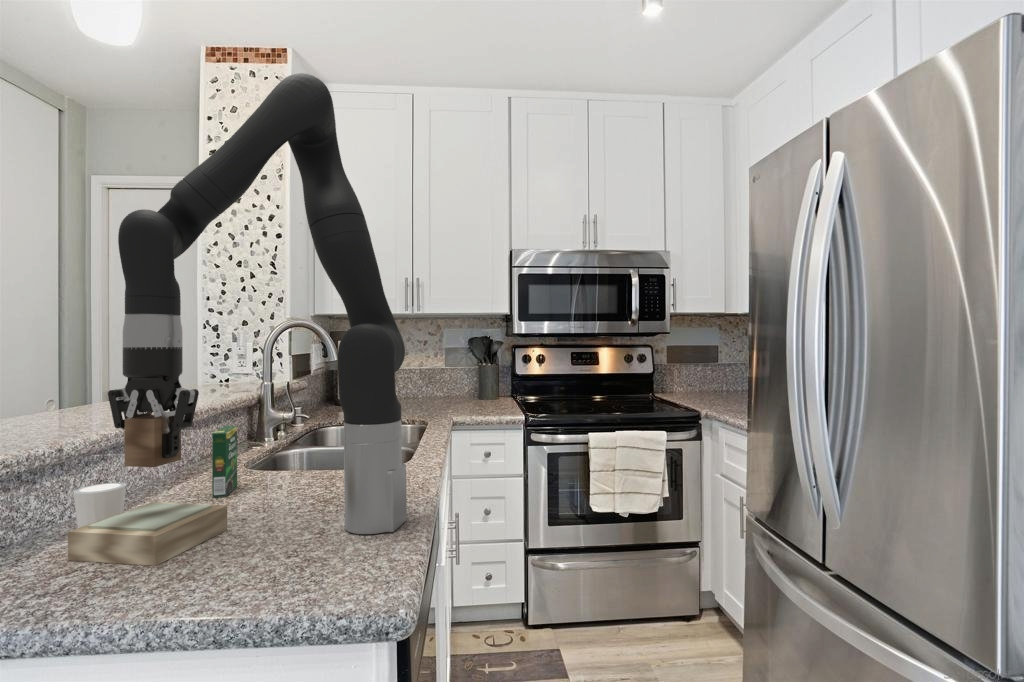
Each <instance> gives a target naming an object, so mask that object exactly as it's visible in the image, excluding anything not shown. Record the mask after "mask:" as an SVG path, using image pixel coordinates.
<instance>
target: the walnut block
mask: <svg viewBox="0 0 1024 682" xmlns="http://www.w3.org/2000/svg"><path fill="white" fill-rule="evenodd" d="M124 419H125V418H124ZM168 419H169V422H170V424H172V417H168ZM162 434H164V433H163V431H162V428H161V419H156V418H155V416H154V414H152V415H150V416H144V417H137V418H128V419H125V430H124V467H134V468H136V467H137V468H157V467H160V466H164V465H168V464H171V463H176V462H179V461H182V430H181V431H180V433H179V452H178V453H177V456H175V457H172V458H168V459H167V458H163V457H162Z"/></svg>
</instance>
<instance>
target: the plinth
mask: <svg viewBox="0 0 1024 682" xmlns="http://www.w3.org/2000/svg"><path fill="white" fill-rule="evenodd" d="M226 531H228V505H227V504H209V503H207V504H206V503H205V504H204V503H184V502H183V503H180V502H163V501H162V502H160V501H152V502H149V503H145V504H143V505H140V506H137V507H133V508H132V509H128V510H126V511H123V512H122V513H120V514H117V515H114V516H111V517H108V518H105V519H103V520H100V521H97V522H94V523H91V524H88V525H86V526H83V527H80V528H78V527H77V528H75V529H71V530H69V531H67V561H74V562H75V561H76V562H89V563H90V562H91V563H106V564H108V563H109V564H118V565H119V564H121V565H122V564H123V565H138V566H152V567H153V566H154V567H155V566H158V565H160V564H162V563H164V562H166V561H168V560H170V559H172V558H174V557H175V556H176V557H177V556H178V555H180V554H182V553H184V552H186V551H188V550H190V549H192V548H194V547H196V546H198V545H200V544H202V543H205V542H206V541H208V540H210V539H212V538H214V537H216V536H218V535H220V534H222V533H224V532H226Z"/></svg>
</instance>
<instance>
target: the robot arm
mask: <svg viewBox="0 0 1024 682" xmlns="http://www.w3.org/2000/svg"><path fill="white" fill-rule="evenodd" d="M334 107H335V106H334V102H333V98H332V95H331V92H330V91H329V88H328V87H327V85H326V84H325V83H324V82H323V81H322V80H320V78H318V77H316V76H314V75H312V74H309V73H303V72H301V73H294V74H291V75H288V76H286V77H285V78H283V79H281V81H279V83H277V85H276V86H275V87H274V88H273V89H272V90H271V91H270V92H269V93H268V95H267V96H266V98H265V99H264V100H263V101H262V102H261V104H260V105H259V106H257V108H256V109H255V110H254V112H253V113H252V114H251V115H250V116H249V117H248V118H247V119H246V121H245V122H244V123H243V124H242V125H241V126H240V127H239V128H238V129H237V130H236V131H235V132H234V133H233V134H232V135H231V137H229V138H228V140H226V141H225V142H224V143H223V144H222V145H221V146H220V147H219V148H217V149H216V151H215V152H213V153H212V154H211V155H209V157H208V158H206V159H205V160H204V161H203V162H201V163H200V164H199V165H198V166H196V167H195V168H194V169H192V170H191V172H189V173H188V174H187V175H185V176H184V177H183V178H182V179H180V180H179V181H178V182H177V183H176V184H175V185H174V186H173V187H172V189H171V190H170V195H169V196H170V198H169V199H168V201H167V202H166V203H165V204H163V205H162V207H161V208H159V210H158V211H155V210H153V209H152V210H151V209H143V208H142V209H137V210H134V211H132V212H130V213H128V214H127V215H126V216H125V217H124V218H123V219H122V221H121V223H120V225H119V229H118V238H117V239H118V240H117V242H118V243H117V244H118V251H119V258H120V263H121V269H122V273H123V278H124V282H125V289H124V320H123V325H122V376H124V377H125V378H127V382H126V384H125V386H124V387H122V388H117V389H115V388H114V389H110V390H109V391H108V392H107V396H108V401H109V406H110V411H111V416H112V421H113V424H114V425H113V426H114V428H116V429H117V430H118V429H121V430H123V431H125V419H128V418H137V417H144V416H150V415H154V416H155V418H156V419H161V428H162V431H163V433H164V434H162V457H163V458H167V459H168V458H172V457H175V456H177V453H178V452H179V433H180V431H181V432H182V430H184V429H188V428H191V427H192V425H193V423H194V416H195V412H196V410H197V409H196V408H197V403H198V398H199V394H200V393H199V390H198V389H196V388H192V389H187V388H184V387H182V385H181V383H180V376H181V375H182V374H183V363H184V362H183V326H182V320H181V318H182V317H181V313H182V312H181V309H182V308H181V304H182V303H181V289H180V288H181V287H180V284H179V282H178V280H177V279H176V274H175V260H176V259H177V258H179V257H180V256H181V255H183V254H184V253H185V252H186V251H188V249H189V248H190V247H191V246H192V245H193V244H194V243H195V241H197V239H199V237H200V236H201V234H202V233H203V232H204V230H205V229H206V228H207V227H208V225H209V224H210V223H212V222H213V221H214V220H216V219H217V218H218V217H219V216H220V215H222V214H223V213H224V212H225V211H227V210H228V209H229V208H230V207H231V206H232V205H234V203H236V202H237V201H238V200H240V199H241V197H243V195H244V194H245V193H246V192H247V191H248V190H249V188H250V187H251V186H252V185H253V183H254V182H255V180H256V179H257V177H258V176H259V174H260V173H261V172H262V170H263V169H264V167H265V166H266V165H267V163H268V161H270V159H271V158H272V157H273V156H274V154H275V153H276V152H277V151H278V150H279V149H280V148H282V146H284V145H285V144H286V143H287V144H288V145H289V147H290V150H291V152H292V154H293V158H294V161H295V163H296V166H297V168H298V171H299V174H300V178H301V183H302V191H303V201H304V202H303V203H304V208H305V214H306V220H307V224H308V229H309V230H310V231H309V232H310V235H311V239H312V242H313V245H314V248H315V249H314V250H315V252H316V254H317V257H318V259H319V262H320V264H321V265H322V267H323V270H324V271H325V273H326V275H327V277H328V278H329V279H330V281H331V283H332V285H333V286H334V289H335V291H336V292H337V293H338V295H339V296H340V299H341V301H342V303H343V305H344V308H345V310H346V313H347V318H348V322H349V327H350V328H348V330H347V331H346V332H345V333H344V334H343V335H342V337H341V338H340V342H339V343H338V344H339V345H338V349H337V383H338V386H337V387H338V399H339V404H340V407H341V409H342V413H343V473H344V474H343V477H344V478H343V484H344V487H343V488H344V495H343V496H344V501H343V502H344V514H343V515H344V530H346V532H348V533H352V534H356V535H374V534H382V533H393V532H395V531H396V530H398V528H399V527H400V526H402V525H403V524H404V523H405V522H406V521H407V518H408V516H407V503H408V502H407V500H408V499H407V498H408V497H407V464H406V463H403V458H402V457H403V454H402V453H403V452H402V450H403V449H402V444H403V443H402V442H403V441H402V405H401V403H400V401H399V400H398V397H397V396H398V395H397V391H396V373H397V372H398V371H399V369H401V367H402V365H403V364H404V360H405V357H406V356H405V355H406V347H405V343H404V339H403V337H402V334H401V332H400V330H399V327H398V325H397V322H396V320H395V318H394V315H393V313H392V310H391V307H390V305H389V302H388V300H387V297H386V295H385V294H386V293H385V291H384V286H383V281H382V278H381V272H380V269H379V265H378V261H377V258H376V257H377V256H376V254H375V251H374V246H373V243H372V239H371V238H372V237H371V233H370V231H369V227H368V223H367V220H366V217H365V214H364V212H363V208H362V205H361V203H360V201H359V198H358V197H357V194H356V192H355V190H354V188H353V186H352V185H351V182H350V181H349V178H348V177H347V174H346V172H345V169H344V166H343V162H342V157H341V152H340V148H339V147H340V146H339V142H338V135H337V124H336V116H335V108H334ZM122 413H123V414H122ZM123 415H124V417H123ZM168 417H172V424H170V422H169V419H168Z"/></svg>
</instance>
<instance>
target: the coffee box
mask: <svg viewBox="0 0 1024 682" xmlns="http://www.w3.org/2000/svg"><path fill="white" fill-rule="evenodd" d="M211 435H212V438H211V439H212V441H211V442H212V443H211V444H212V445H211V448H212V449H211V450H212V452H211V453H212V454H211V460H212V461H211V463H212V464H211V466H212V467H211V468H212V469H211V474H212V475H211V478H212V479H211V481H212V482H211V484H212V488H211V489H212V498H225V497H226V498H227V497H228V496H229V495H230V494H231V493H232V492H233V491H234V490H235V489H236V488H238V426H237V425H227V426H226V425H224V426H222V427H221V428H219V429H218V430H216V431H214V432H212V434H211Z"/></svg>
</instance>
